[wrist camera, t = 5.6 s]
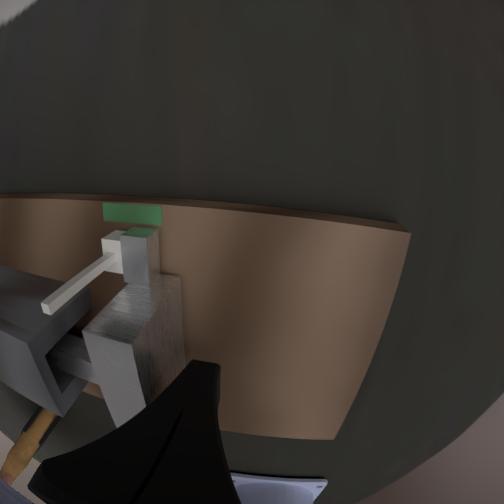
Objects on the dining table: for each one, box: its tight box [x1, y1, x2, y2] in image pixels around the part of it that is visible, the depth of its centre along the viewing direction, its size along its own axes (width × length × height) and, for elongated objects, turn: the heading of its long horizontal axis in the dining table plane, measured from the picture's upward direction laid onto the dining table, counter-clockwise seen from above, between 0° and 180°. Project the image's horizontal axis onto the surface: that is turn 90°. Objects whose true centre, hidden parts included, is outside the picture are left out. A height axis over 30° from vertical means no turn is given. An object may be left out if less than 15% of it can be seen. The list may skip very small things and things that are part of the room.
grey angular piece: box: [45, 227, 186, 428], centre depth 10 cm, size 10×9×4 cm
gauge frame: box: [0, 193, 411, 440], centre depth 10 cm, size 24×12×6 cm, turn 86°
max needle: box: [41, 230, 126, 315], centre depth 8 cm, size 1×1×5 cm
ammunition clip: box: [0, 406, 61, 486], centre depth 14 cm, size 11×2×12 cm, turn 137°
